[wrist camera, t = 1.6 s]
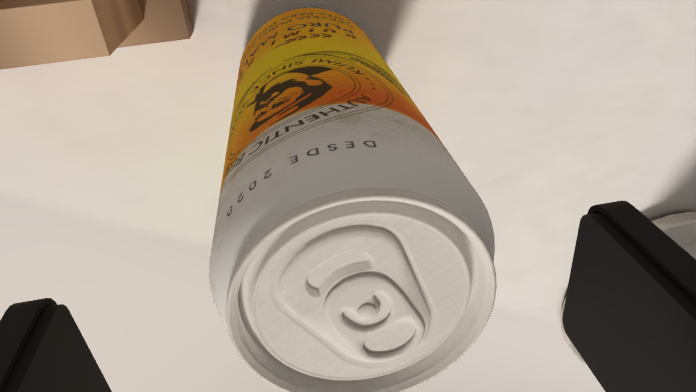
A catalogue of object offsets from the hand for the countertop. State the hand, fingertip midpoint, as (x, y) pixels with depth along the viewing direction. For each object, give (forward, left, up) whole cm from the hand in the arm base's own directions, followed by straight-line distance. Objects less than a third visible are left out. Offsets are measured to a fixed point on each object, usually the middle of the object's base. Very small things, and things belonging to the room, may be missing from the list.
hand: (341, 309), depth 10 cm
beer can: (0, 0, -15) cm, 15 cm away
